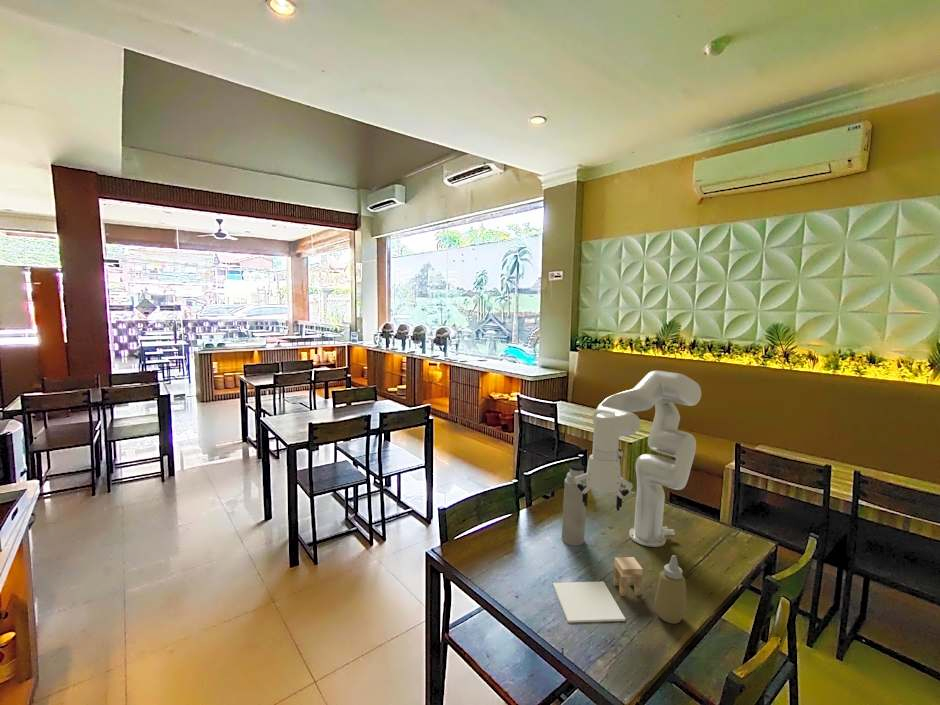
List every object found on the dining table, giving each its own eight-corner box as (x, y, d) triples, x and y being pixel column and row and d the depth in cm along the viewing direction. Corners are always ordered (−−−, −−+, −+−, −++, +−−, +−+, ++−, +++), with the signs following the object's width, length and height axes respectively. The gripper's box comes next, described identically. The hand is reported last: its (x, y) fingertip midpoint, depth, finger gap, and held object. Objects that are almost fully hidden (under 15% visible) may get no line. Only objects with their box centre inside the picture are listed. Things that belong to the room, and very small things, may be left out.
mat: (603, 583, 138) (603, 581, 137) (625, 620, 122) (625, 618, 122) (552, 584, 136) (552, 582, 136) (567, 622, 120) (568, 620, 120)
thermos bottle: (560, 533, 166) (564, 461, 163) (582, 534, 166) (586, 462, 162) (562, 544, 159) (566, 469, 155) (585, 546, 158) (590, 470, 154)
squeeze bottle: (648, 607, 127) (652, 548, 125) (675, 606, 128) (680, 547, 126) (662, 628, 119) (667, 565, 117) (691, 626, 120) (697, 564, 118)
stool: (631, 582, 138) (633, 557, 137) (640, 595, 132) (642, 568, 131) (612, 583, 138) (614, 557, 137) (620, 596, 132) (622, 569, 131)
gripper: (633, 452, 138) (629, 505, 140) (576, 446, 142) (573, 498, 144) (636, 461, 131) (632, 516, 133) (575, 454, 135) (572, 508, 137)
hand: (601, 506), depth 139 cm, fingers open, 9 cm apart
